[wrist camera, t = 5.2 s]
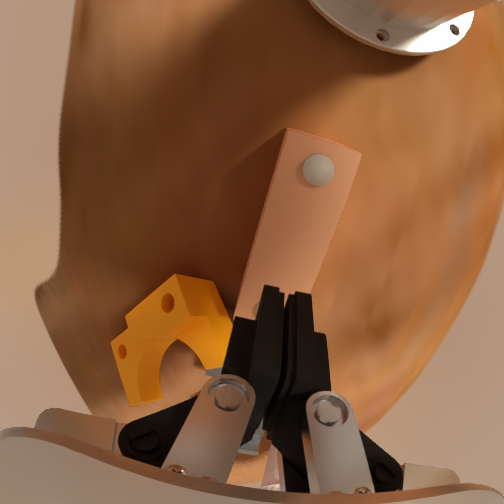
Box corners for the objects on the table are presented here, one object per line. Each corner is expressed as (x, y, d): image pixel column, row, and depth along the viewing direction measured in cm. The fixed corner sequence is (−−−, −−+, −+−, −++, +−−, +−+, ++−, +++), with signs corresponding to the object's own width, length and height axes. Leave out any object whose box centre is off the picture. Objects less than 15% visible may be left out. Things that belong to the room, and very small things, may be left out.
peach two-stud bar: (286, 126, 19) (288, 130, 14) (343, 145, 19) (364, 155, 14) (241, 280, 24) (232, 322, 19) (291, 293, 24) (292, 337, 20)
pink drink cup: (272, 445, 34) (264, 541, 22) (254, 420, 32) (241, 529, 19) (321, 437, 33) (323, 537, 20) (309, 411, 30) (310, 527, 18)
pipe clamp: (174, 273, 21) (208, 361, 18) (213, 281, 24) (246, 356, 22) (95, 342, 25) (115, 409, 22) (131, 342, 29) (151, 403, 26)
